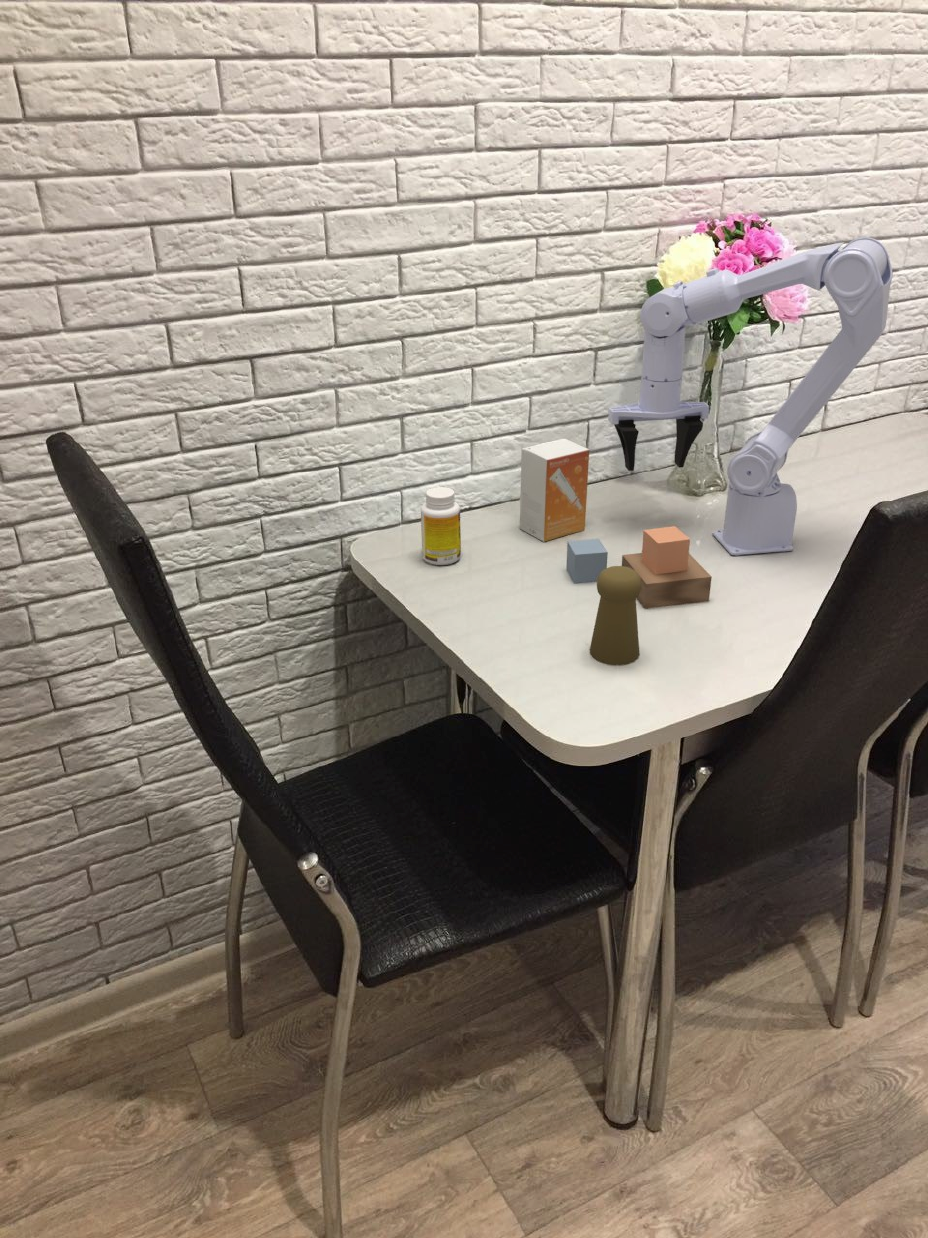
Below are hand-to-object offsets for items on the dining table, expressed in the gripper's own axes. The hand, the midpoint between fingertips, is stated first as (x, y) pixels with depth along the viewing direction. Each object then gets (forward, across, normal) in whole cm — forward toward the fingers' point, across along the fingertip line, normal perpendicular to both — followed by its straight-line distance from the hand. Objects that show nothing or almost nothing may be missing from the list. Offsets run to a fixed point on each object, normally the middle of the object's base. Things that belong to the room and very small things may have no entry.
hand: (654, 466), depth 154 cm
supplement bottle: (+10, +33, +6) cm, 35 cm away
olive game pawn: (+10, +16, +36) cm, 41 cm away
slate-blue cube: (+10, +14, +15) cm, 23 cm away
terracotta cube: (+6, +5, +21) cm, 22 cm away
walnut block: (+10, +5, +21) cm, 24 cm away
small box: (+10, +15, -1) cm, 18 cm away
